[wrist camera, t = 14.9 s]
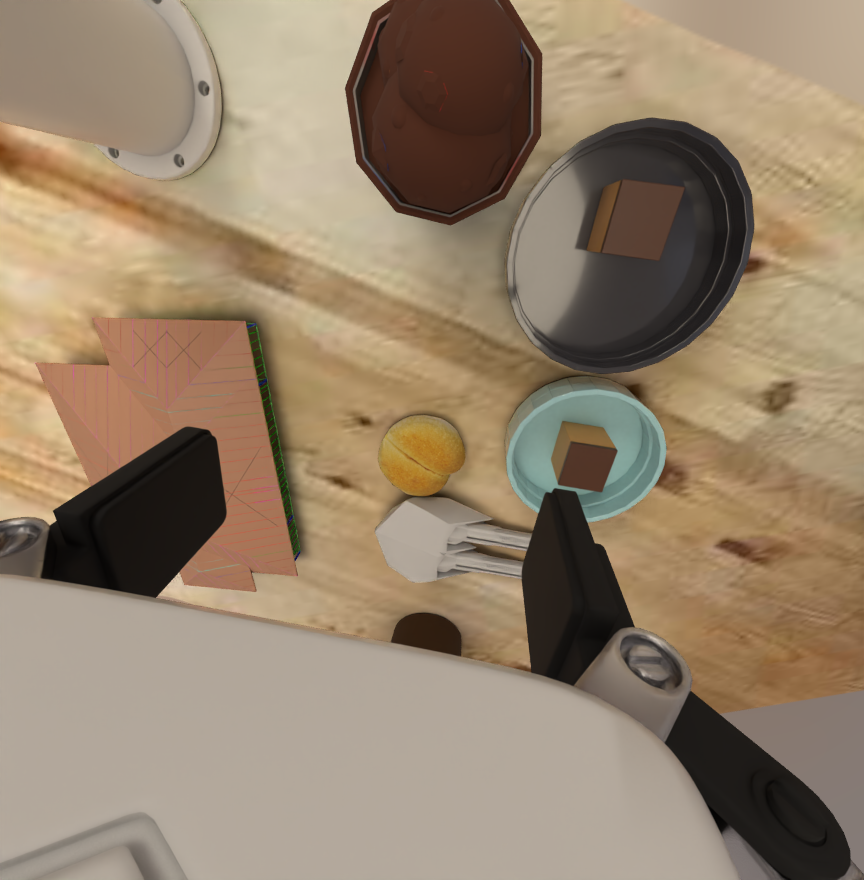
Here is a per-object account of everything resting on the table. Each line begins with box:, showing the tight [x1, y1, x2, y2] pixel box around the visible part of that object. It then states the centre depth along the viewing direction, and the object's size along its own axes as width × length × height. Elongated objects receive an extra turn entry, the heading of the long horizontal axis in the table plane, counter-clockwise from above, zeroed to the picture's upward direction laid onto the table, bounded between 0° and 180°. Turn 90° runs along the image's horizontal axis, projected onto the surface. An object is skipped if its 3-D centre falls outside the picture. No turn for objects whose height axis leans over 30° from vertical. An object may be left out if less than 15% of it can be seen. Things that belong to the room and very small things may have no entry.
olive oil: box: [391, 613, 461, 657], centre depth 45 cm, size 11×11×25 cm
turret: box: [375, 496, 532, 582], centre depth 46 cm, size 10×20×5 cm, turn 75°
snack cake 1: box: [551, 421, 618, 492], centre depth 38 cm, size 4×4×5 cm
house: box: [36, 318, 301, 592], centre depth 43 cm, size 23×33×8 cm
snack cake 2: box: [587, 179, 685, 261], centre depth 29 cm, size 4×4×5 cm
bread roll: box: [378, 415, 465, 496], centre depth 41 cm, size 8×9×4 cm
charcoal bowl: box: [504, 118, 754, 374], centre depth 31 cm, size 17×17×4 cm
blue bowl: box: [505, 376, 667, 522], centre depth 39 cm, size 14×14×4 cm
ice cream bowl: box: [345, 0, 542, 225], centre depth 24 cm, size 11×11×15 cm
